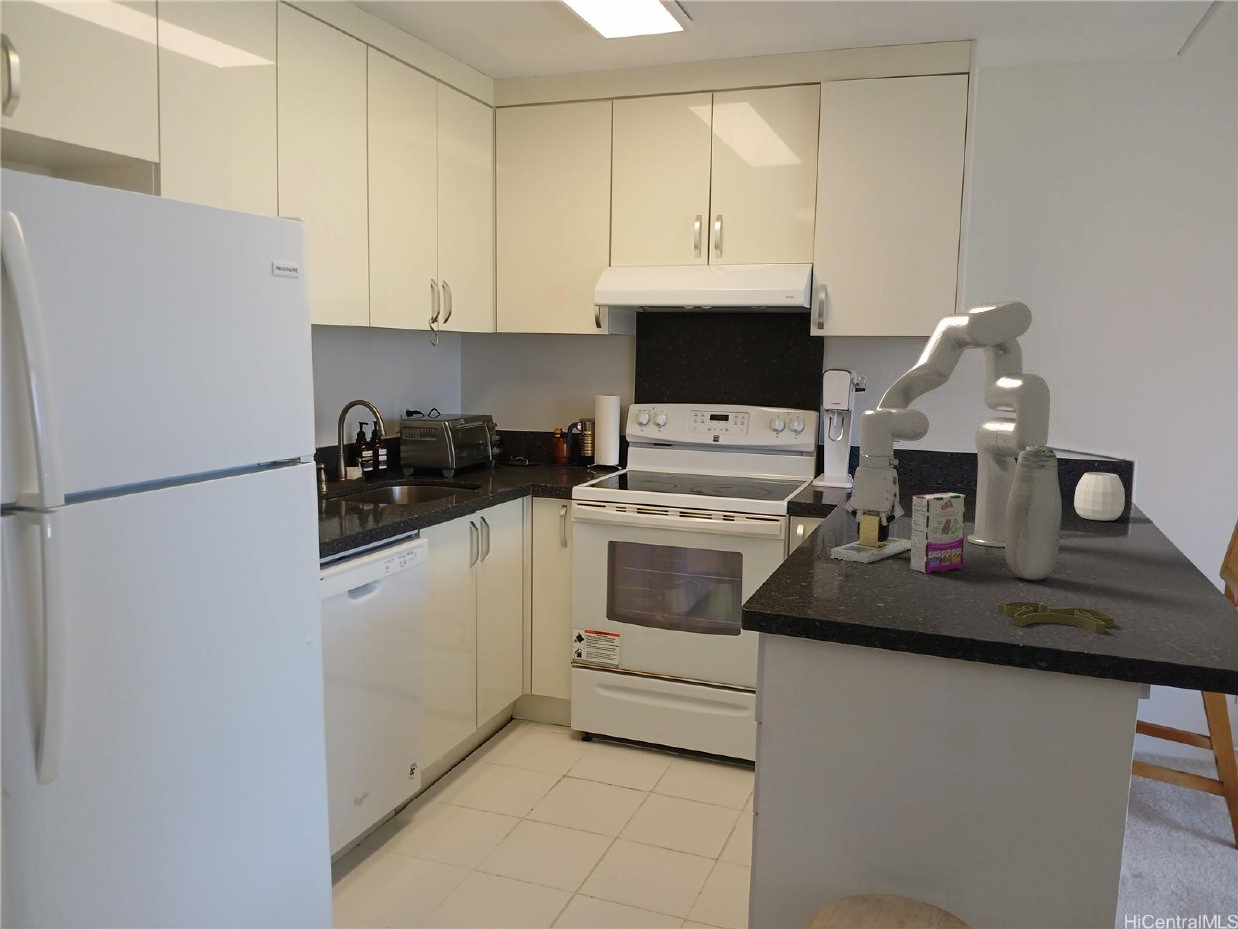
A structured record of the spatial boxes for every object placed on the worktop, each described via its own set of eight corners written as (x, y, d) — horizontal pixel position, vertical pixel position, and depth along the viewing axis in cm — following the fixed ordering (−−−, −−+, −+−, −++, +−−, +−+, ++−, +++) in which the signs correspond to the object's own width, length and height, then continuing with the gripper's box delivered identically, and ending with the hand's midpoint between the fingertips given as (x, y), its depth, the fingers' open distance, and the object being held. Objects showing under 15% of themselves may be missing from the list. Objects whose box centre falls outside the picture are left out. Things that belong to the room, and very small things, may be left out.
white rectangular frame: (910, 548, 222) (911, 540, 221) (867, 563, 203) (867, 554, 203) (875, 543, 227) (876, 535, 227) (830, 557, 209) (830, 549, 209)
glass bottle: (1053, 586, 184) (1062, 448, 181) (999, 580, 189) (1007, 445, 186) (1059, 577, 192) (1068, 444, 189) (1007, 571, 198) (1015, 442, 195)
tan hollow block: (885, 548, 216) (886, 513, 215) (877, 551, 212) (878, 515, 211) (867, 545, 218) (868, 510, 218) (859, 548, 215) (860, 513, 214)
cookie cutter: (1001, 627, 156) (1002, 615, 156) (995, 609, 167) (995, 599, 167) (1119, 637, 151) (1119, 625, 150) (1104, 619, 162) (1105, 608, 162)
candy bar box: (945, 565, 203) (949, 492, 202) (963, 569, 199) (967, 494, 197) (908, 569, 198) (911, 494, 196) (925, 574, 194) (929, 497, 192)
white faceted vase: (1075, 521, 267) (1078, 475, 265) (1071, 514, 279) (1074, 470, 277) (1126, 524, 262) (1129, 477, 260) (1120, 517, 274) (1123, 473, 272)
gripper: (917, 464, 211) (913, 542, 213) (849, 459, 221) (846, 533, 223) (904, 466, 205) (900, 547, 207) (835, 461, 216) (832, 537, 218)
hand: (872, 539), depth 215 cm, fingers closed on tan hollow block, 4 cm apart
